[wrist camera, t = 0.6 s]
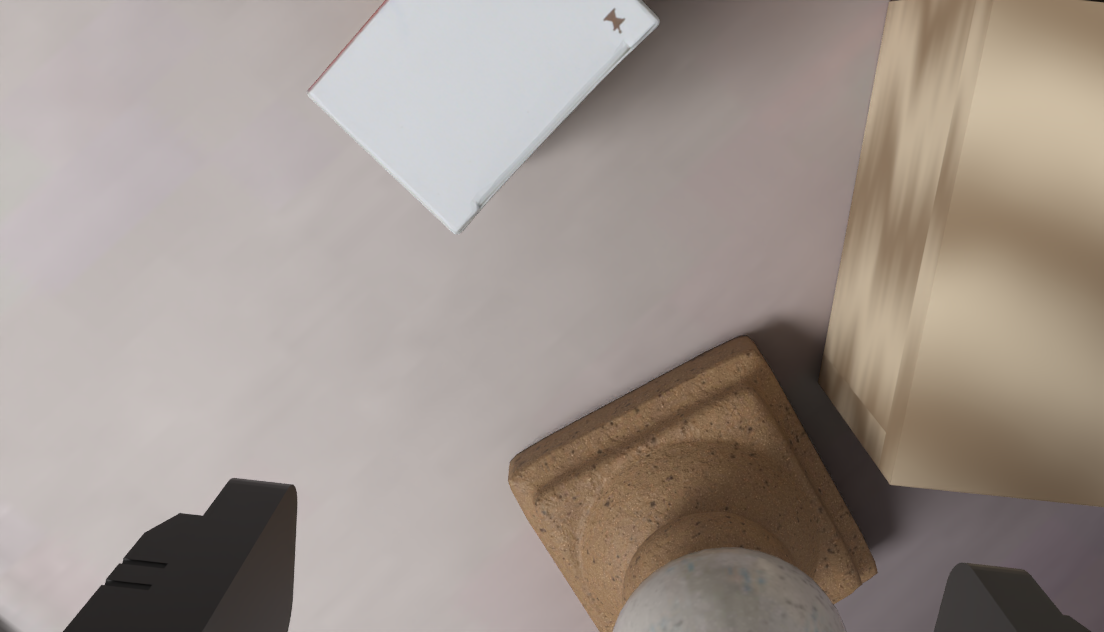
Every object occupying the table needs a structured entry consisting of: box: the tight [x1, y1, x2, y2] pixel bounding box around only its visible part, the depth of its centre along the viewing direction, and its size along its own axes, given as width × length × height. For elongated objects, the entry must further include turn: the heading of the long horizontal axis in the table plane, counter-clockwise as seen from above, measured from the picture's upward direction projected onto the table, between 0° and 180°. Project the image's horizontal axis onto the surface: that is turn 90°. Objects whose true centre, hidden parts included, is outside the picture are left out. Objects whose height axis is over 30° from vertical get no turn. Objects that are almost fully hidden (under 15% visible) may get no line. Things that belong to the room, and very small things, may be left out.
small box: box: [307, 0, 660, 234], centre depth 31 cm, size 8×6×10 cm
